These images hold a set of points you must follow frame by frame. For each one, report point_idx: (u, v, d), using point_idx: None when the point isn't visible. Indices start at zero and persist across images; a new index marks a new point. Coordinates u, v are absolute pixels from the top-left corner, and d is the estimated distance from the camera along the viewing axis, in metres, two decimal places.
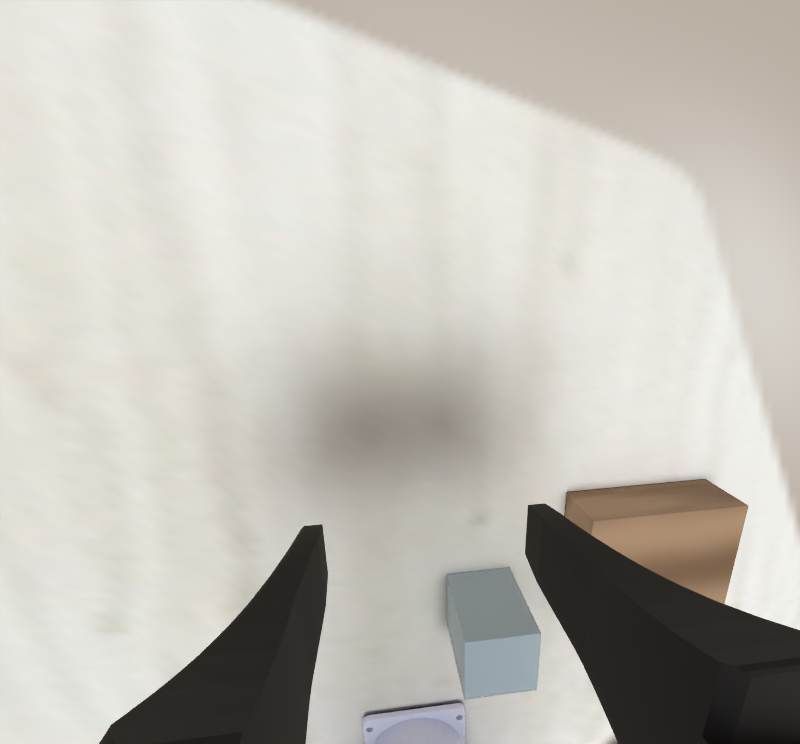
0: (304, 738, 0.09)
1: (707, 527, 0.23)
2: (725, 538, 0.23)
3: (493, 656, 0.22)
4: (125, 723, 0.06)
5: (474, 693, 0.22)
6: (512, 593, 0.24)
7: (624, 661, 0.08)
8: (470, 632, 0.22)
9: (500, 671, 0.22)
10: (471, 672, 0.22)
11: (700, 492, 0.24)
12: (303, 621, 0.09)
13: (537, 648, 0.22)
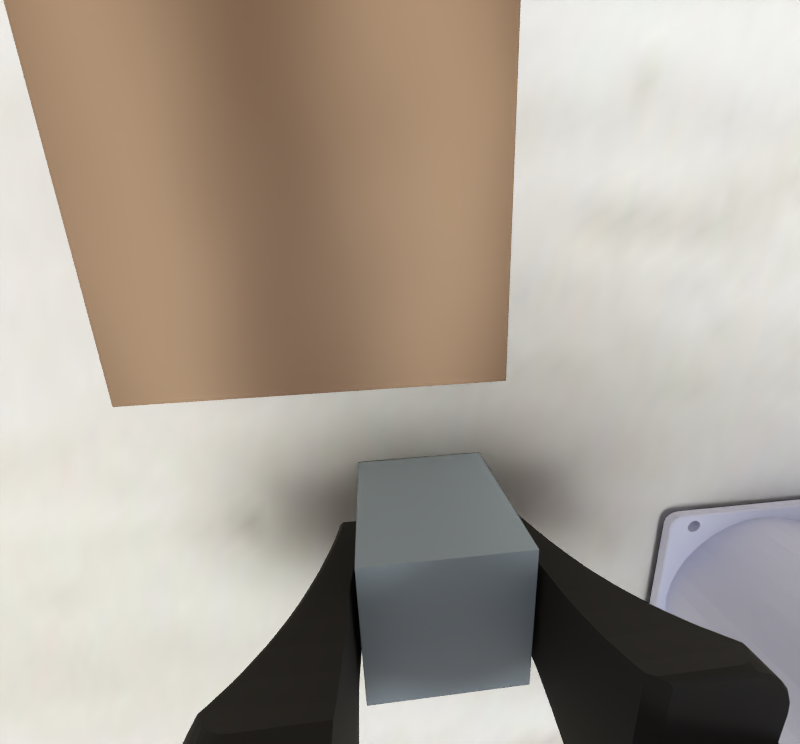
0: (358, 731, 0.09)
1: (86, 39, 0.07)
2: None
3: (413, 651, 0.10)
4: (212, 712, 0.06)
5: (517, 670, 0.10)
6: None
7: (569, 668, 0.08)
8: None
9: (463, 631, 0.10)
10: (454, 682, 0.10)
11: None
12: (353, 615, 0.09)
13: (402, 568, 0.09)
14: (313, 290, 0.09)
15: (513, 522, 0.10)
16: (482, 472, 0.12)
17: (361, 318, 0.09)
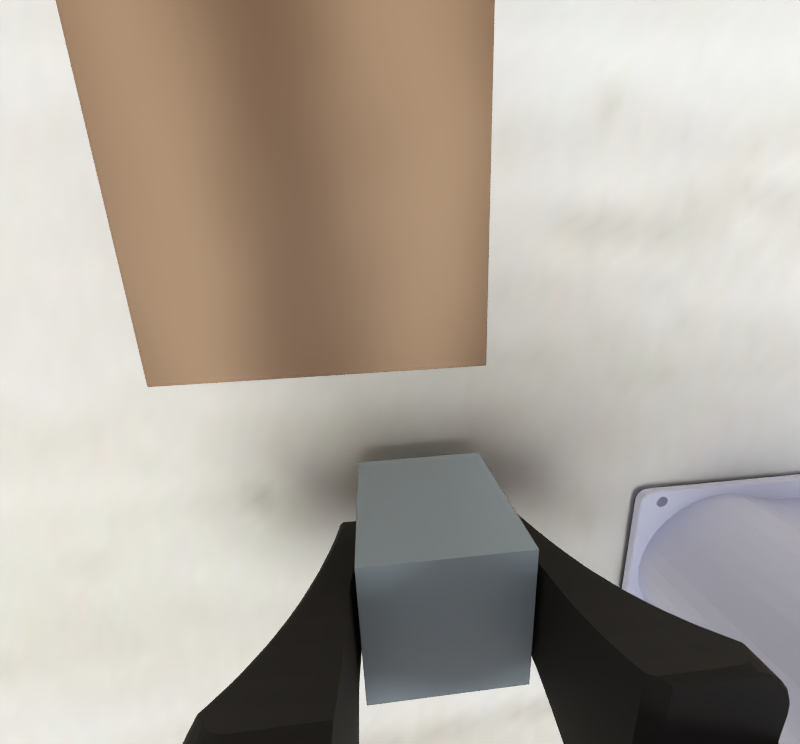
0: (358, 731, 0.09)
1: (134, 79, 0.09)
2: (163, 5, 0.08)
3: (413, 650, 0.10)
4: (211, 712, 0.06)
5: (517, 669, 0.10)
6: None
7: (569, 668, 0.08)
8: None
9: (463, 631, 0.10)
10: (455, 682, 0.10)
11: None
12: (354, 615, 0.09)
13: (402, 567, 0.09)
14: (319, 286, 0.10)
15: (513, 522, 0.10)
16: (482, 472, 0.12)
17: (361, 311, 0.11)
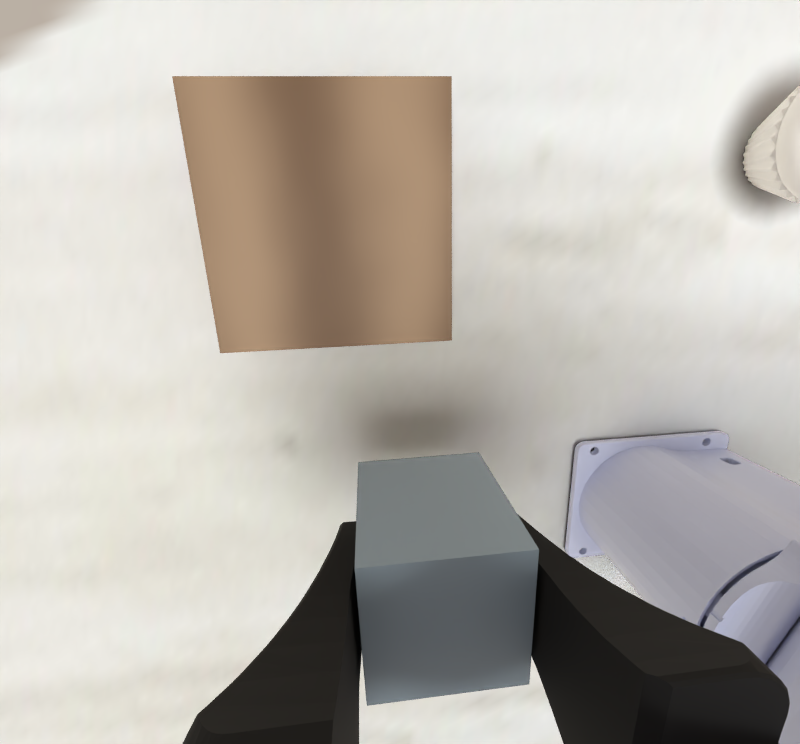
0: (357, 731, 0.09)
1: (222, 153, 0.14)
2: (243, 109, 0.13)
3: (413, 651, 0.10)
4: (212, 712, 0.06)
5: (517, 670, 0.10)
6: None
7: (569, 668, 0.08)
8: None
9: (463, 631, 0.10)
10: (455, 682, 0.10)
11: None
12: (353, 615, 0.09)
13: (402, 567, 0.09)
14: (337, 285, 0.15)
15: (513, 522, 0.10)
16: (482, 472, 0.12)
17: (365, 302, 0.16)
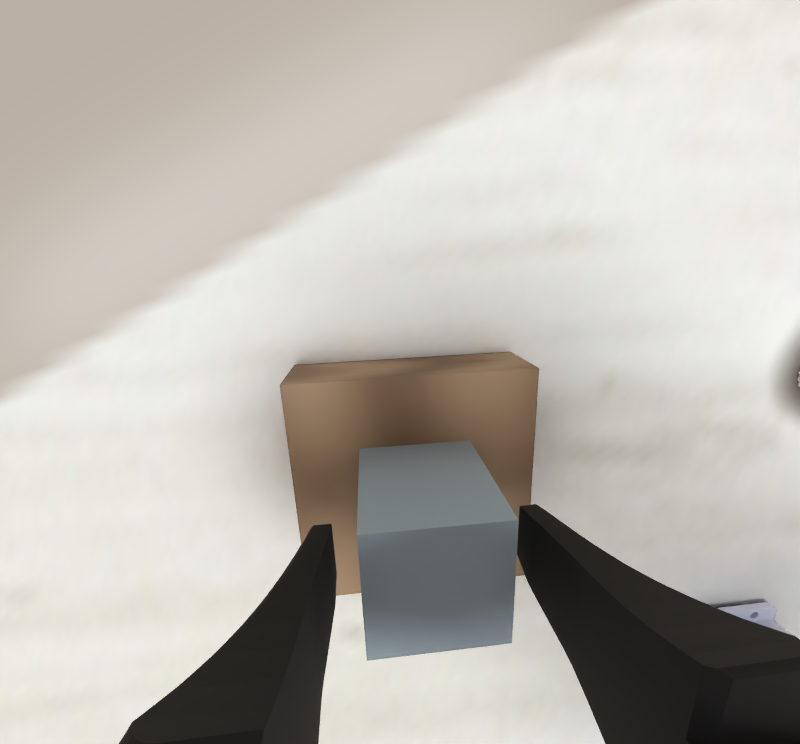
0: (317, 736, 0.09)
1: (322, 442, 0.15)
2: (343, 406, 0.14)
3: (408, 610, 0.11)
4: (146, 721, 0.06)
5: (501, 629, 0.11)
6: None
7: (611, 663, 0.08)
8: None
9: (452, 593, 0.11)
10: (445, 640, 0.11)
11: None
12: (315, 620, 0.09)
13: (398, 535, 0.10)
14: None
15: (497, 498, 0.11)
16: (472, 457, 0.14)
17: None
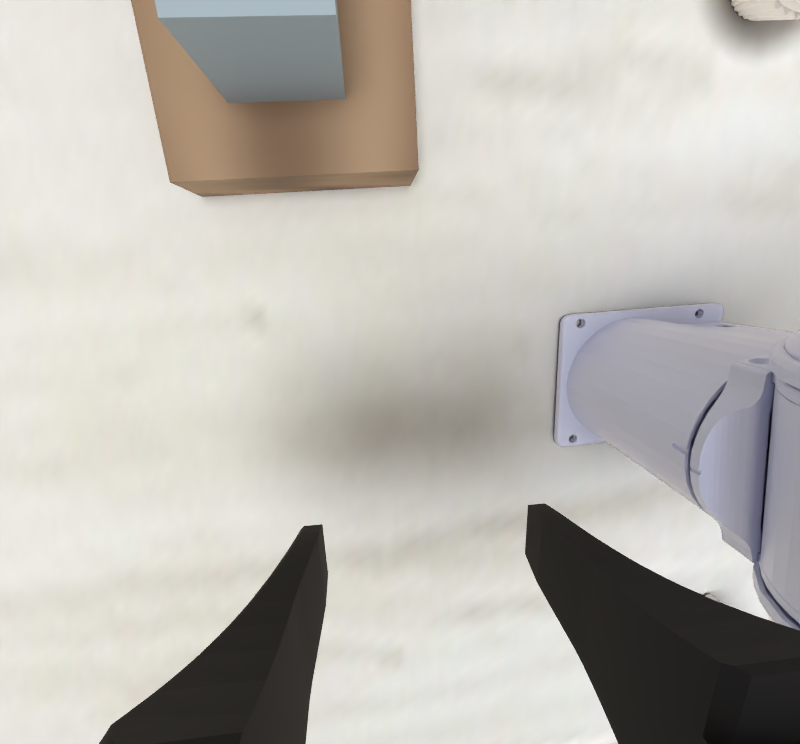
0: (304, 738, 0.09)
1: None
2: None
3: None
4: (125, 723, 0.06)
5: None
6: None
7: (624, 661, 0.08)
8: None
9: None
10: None
11: None
12: (303, 621, 0.09)
13: None
14: (292, 101, 0.14)
15: None
16: None
17: (322, 122, 0.15)
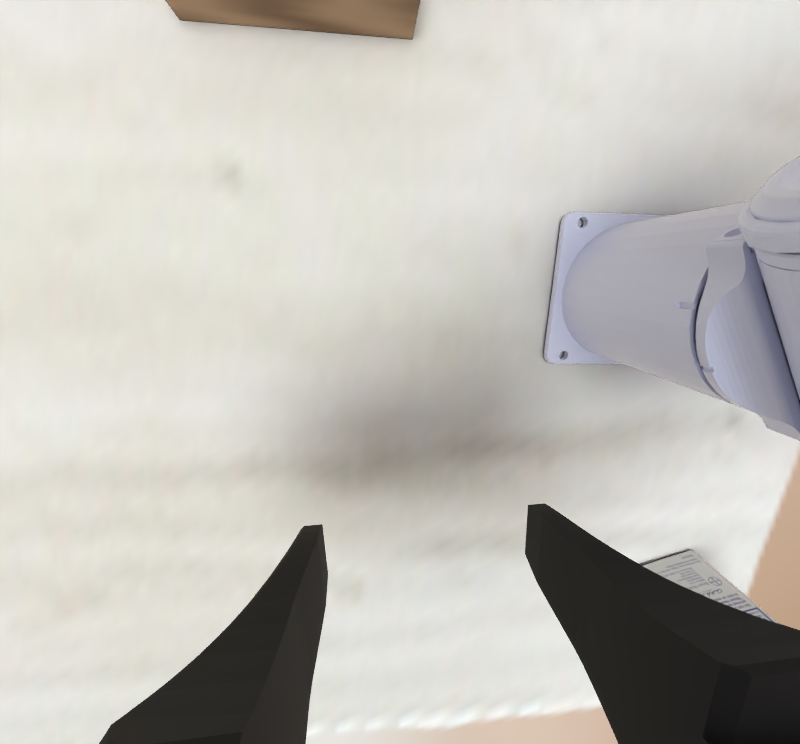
0: (304, 738, 0.09)
1: None
2: None
3: None
4: (125, 723, 0.06)
5: None
6: None
7: (624, 661, 0.08)
8: None
9: None
10: None
11: None
12: (303, 621, 0.09)
13: None
14: None
15: None
16: None
17: None
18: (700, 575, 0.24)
